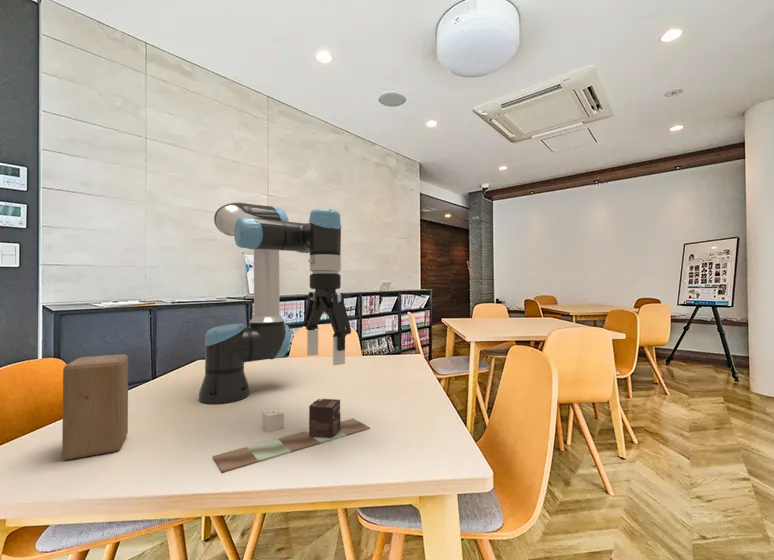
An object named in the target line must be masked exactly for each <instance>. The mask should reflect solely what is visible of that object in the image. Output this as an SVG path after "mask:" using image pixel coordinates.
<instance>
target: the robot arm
mask: <svg viewBox="0 0 774 560" xmlns="http://www.w3.org/2000/svg"><path fill="white" fill-rule="evenodd" d="M213 217H214V218H213V221H214V225H215V227H216V228H217V230H218V231H219V232H220V233H222V234H224V235H225V236H229V237H234V242H235V245H236V246H237V247H238V248H241V249H248V250H253V318H251V319H250V320H249V323H248V324H249V326H247V327H245V325H244V323H229V324H223V325H220V326H219V325H218V326H216V327H212V328H210V329H208V330H207V331H206V333H205V341H204V347H205V348H204V349H205V350H204V353H205V354H204V355H205V358H204V362H205V363H204V366H205V367H204V370H205V371H204V378H203V380H202V383H201V386H200V388H199V389H200V390H199V392H198V401H199V402H200V403H203V404H211V405H212V404H213V405H216V404H218V405H219V404H226V403H233V402H237V401H241V400H244V399H245V398H247V397H248V396H249V395H250V385H249V382H248V379H247V376H246V373H245V363H250V362H258V361H265V360H275V359H279V358H282V357H284V356H285V355H286V354H287V352H288V350H289V349H290V344H291V336H292V335H291V332H290V330H291V329H290V326H288V325H287V324H285V319H284V318H283V317H282V316H281V313H280V310H281V309H280V307H281V306H280V305H281V304H280V251H284V252H285V251H286V252H297V253H301V254H302V253H303V254H309V259H308V262H309V272H312V273H310V275H309V289H311V290H314V291H309V292H308V299H307V304H306V309H305V313H304V318H303V323H302V326H303V328H304V327H305V329H306V330H307V333H306V335H307V336H306V337H307V338H306V339H307V341H306V342H307V347H306V350H307V351H306V353H307V354H306V355H307V356H308V357H312V356H318V355H319V329H320V328H319V326H318V325H319V323H320V320H321V318H322V316H323V313H324V314H327V317H328V320H329V322H330V325H331V327H332V330H333V334H332V365H333V366H339V365H345V364H346V336H348V335H351V334H352V328H351V325H350V319H349V315H348V313H347V309H346V304H345V295H344V293H343V292H337V290H340V288H341V286H342V285H341V284H342V283H341V282H342V281H341V279H342V277H341V274H340V272H341V271H342V266H341V265H342V264H341V261H342V259H341V257H342V256H341V253H342V251H341V249H342V246H341V245H342V244H341V243H342V242H341V241H342V237H341V236H342V225H341V223H342V221H341V214H340V212H339V211H338V210H335V209H330V208H317V209H313V210H311V211H310V213H309V219H308V222H307V223H306V222H305V223H304V222H296V221H295V222H293V221H290V220H289V217H288V214H287V213H286V211H285V210H284V209H283V208H280V207H275V206H272V205H263V204H254V203H253V204H251V203H245V202H231V203H227V204H223V205H221V206H220V207H219V208H218V209H217V210H216V211H215V213H214V216H213Z"/></svg>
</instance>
